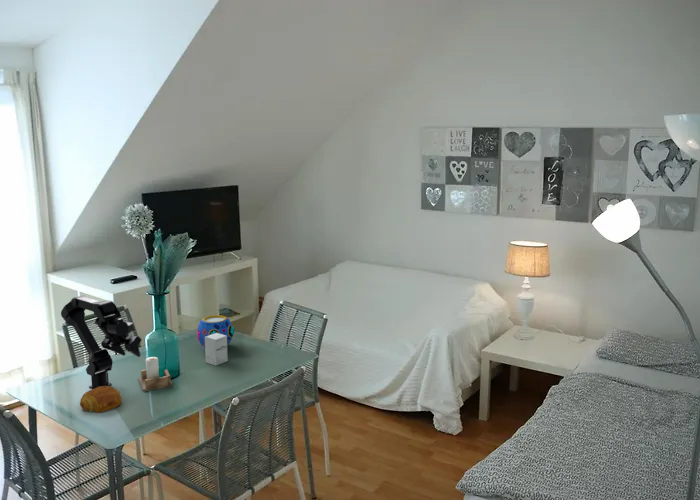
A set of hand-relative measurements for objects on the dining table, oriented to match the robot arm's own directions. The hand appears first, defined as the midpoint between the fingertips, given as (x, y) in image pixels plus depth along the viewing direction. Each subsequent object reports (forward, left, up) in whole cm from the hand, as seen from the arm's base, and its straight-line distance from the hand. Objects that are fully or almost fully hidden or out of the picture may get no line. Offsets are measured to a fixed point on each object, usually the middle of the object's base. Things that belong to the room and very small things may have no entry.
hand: (132, 355), depth 266 cm
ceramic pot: (+49, -10, -13) cm, 52 cm away
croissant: (-21, -1, -13) cm, 25 cm away
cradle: (+3, -8, -13) cm, 15 cm away
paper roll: (+3, -8, -12) cm, 14 cm away
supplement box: (+33, -20, -13) cm, 41 cm away
